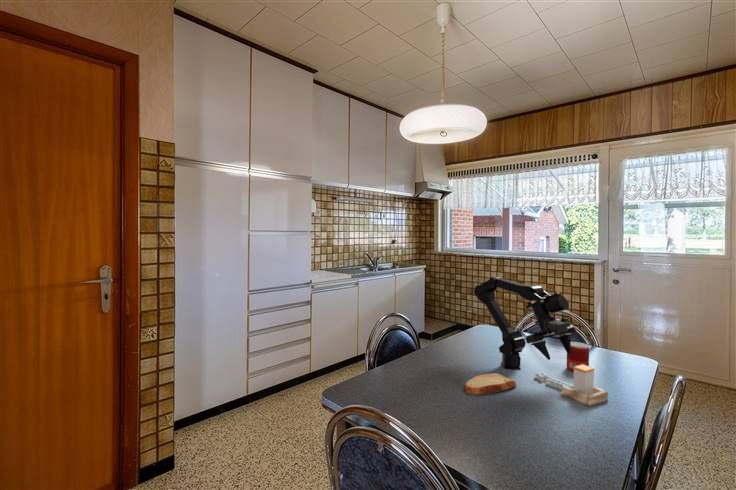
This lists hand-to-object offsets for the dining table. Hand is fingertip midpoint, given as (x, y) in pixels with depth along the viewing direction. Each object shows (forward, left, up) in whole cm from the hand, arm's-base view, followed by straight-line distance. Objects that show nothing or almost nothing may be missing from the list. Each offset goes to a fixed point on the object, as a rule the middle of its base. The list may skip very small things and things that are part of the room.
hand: (559, 357), depth 131 cm
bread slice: (-27, -3, -11) cm, 29 cm away
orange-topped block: (+4, -10, -10) cm, 14 cm away
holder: (+4, -10, -11) cm, 15 cm away
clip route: (-2, 0, -11) cm, 11 cm away
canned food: (+15, +15, -11) cm, 24 cm away
